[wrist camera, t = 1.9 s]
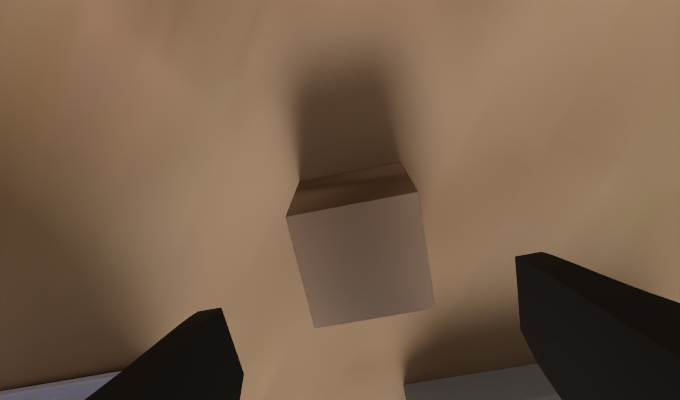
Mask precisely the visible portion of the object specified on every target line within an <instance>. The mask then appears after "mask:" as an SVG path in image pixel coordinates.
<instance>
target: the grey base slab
mask: <svg viewBox="0 0 680 400" xmlns="http://www.w3.org/2000/svg"><path fill="white" fill-rule="evenodd" d="M404 390H405V396H406V400H561V398H560V397H559V395H558V394H557V392H556V391H555V389H554V388H553V386H552V385H551V383H550V382H549V380H548V379H547V378H546V376H545V374H544V373H543V371H542V370H541V368H540V367H539V365H538V363H537V364H531V365H525V366H518V367H512V368H506V369H499V370H493V371H487V372H480V373H474V374H468V375H461V376H455V377H449V378H442V379H436V380H429V381H423V382H417V383H410V384H404Z"/></svg>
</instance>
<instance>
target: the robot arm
mask: <svg viewBox="0 0 680 400" xmlns="http://www.w3.org/2000/svg"><path fill="white" fill-rule="evenodd" d="M515 262H516V275H517V288H518V301H519V315H520V328H521V331H522V333H523V335H524V337H525V339H526V341H527V343H528V345H529V347H530V350H531V351H532V353H533V355H534V357H535V359H536V361H537V363H538V365H539V367H540V368H541V370H542V371H543V373H544V374H545V376H546V378H547V379H548V380H549V382H550V383H551V385H552V386H553V388H554V389H555V391H556V392H557V394H558V395H559V397H560V398H561V400H680V303H678V302H675V301H672V300H669V299H666V298H663V297H660V296H657V295H654V294H652V293H649V292H646V291H643V290H641V289H638V288H635V287H632V286H630V285H627V284H625V283H622V282H619V281H617V280H614V279H612V278H609V277H607V276H604V275H601V274H599V273H596V272H594V271H591V270H589V269H586V268H584V267H581V266H579V265H576V264H574V263H571V262H569V261H566V260H564V259H561V258H559V257H556V256H553V255H550V254H547V253H544V252H538V253H533V254H527V255H521V256H515ZM243 376H244V373H243V370H242V367H241V364H240V361H239V358H238V355H237V353H236V350H235V347H234V344H233V341H232V338H231V335H230V332H229V329H228V326H227V323H226V320H225V317H224V314H223V311H222V309H221V308H216V309H210V310H205V311H199V312H197V313H195V314H193V315H192V316H190V317H189V318H188V319H186V320H185V321H184V322H182V323H181V324H180V325H178V326H177V327H176V328H175V329H173V330H172V331H171V332H170V333H168V334H167V335H166V336H165V337H163V338H162V339H161V340H160V341H159V342H157V343H156V344H155V345H154V346H152V347H151V348H150V349H149V350H148V351H146V352H145V353H144V354H143V355H141V356H140V357H139V358H138V359H136V360H135V361H134V362H133V363H132V364H130V365H129V366H128V367H127V368H125V369H124V370H123V371H118V372H112V373H106V374H100V375H94V376H89V377H83V378H77V379H71V380H65V381H59V382H53V383H47V384H41V385H35V386H29V387H23V388H17V389H11V390H5V391H0V400H240V395H241V389H242V382H243Z"/></svg>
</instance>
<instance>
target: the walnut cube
mask: <svg viewBox="0 0 680 400" xmlns="http://www.w3.org/2000/svg"><path fill="white" fill-rule="evenodd" d="M286 221H287V224H288V228H289V232H290V236H291V240H292V243H293V247H294V251H295V255H296V259H297V263H298V266H299V270H300V274H301V278H302V282H303V286H304V289H305V293H306V297H307V301H308V305H309V308H310V312H311V316H312V320H313V324H314V328H320V327H326V326H332V325H338V324H344V323H350V322H356V321H362V320H368V319H374V318H380V317H386V316H392V315H397V314H403V313H409V312H415V311H421V310H427V309H433V308H436V307H435V301H434V294H433V288H432V281H431V274H430V268H429V261H428V254H427V248H426V241H425V235H424V228H423V221H422V215H421V208H420V201H419V195H418V191H417V189H416V188H415V186H414V184H413V182H412V181H411V179H410V177H409V176H408V174H407V172H406V171H405V169H404V167H403V165H402V164H401V162H398V163H393V164H388V165H383V166H378V167H373V168H368V169H363V170H357V171H352V172H347V173H342V174H337V175H332V176H327V177H322V178H317V179H312V180H306V181H301V182H299V184H298V187H297V189H296V192H295V194H294V197H293V199H292V202H291V204H290V207H289V209H288V212H287V215H286Z"/></svg>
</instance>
